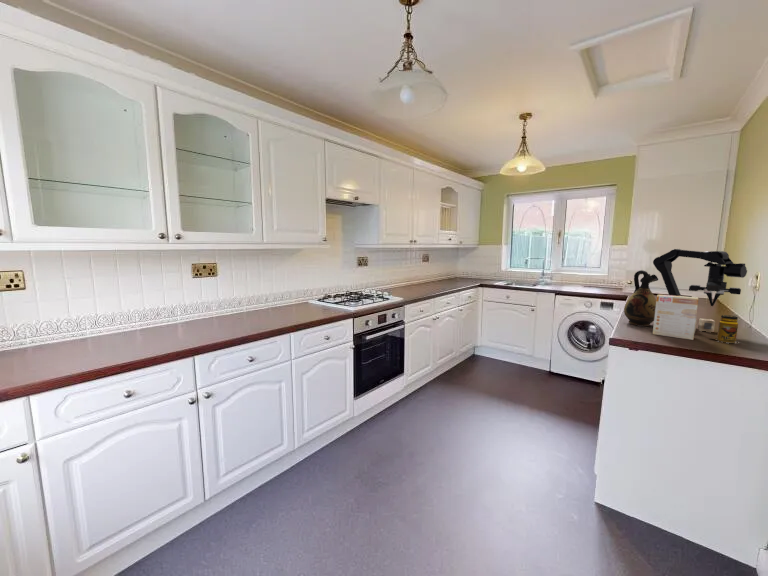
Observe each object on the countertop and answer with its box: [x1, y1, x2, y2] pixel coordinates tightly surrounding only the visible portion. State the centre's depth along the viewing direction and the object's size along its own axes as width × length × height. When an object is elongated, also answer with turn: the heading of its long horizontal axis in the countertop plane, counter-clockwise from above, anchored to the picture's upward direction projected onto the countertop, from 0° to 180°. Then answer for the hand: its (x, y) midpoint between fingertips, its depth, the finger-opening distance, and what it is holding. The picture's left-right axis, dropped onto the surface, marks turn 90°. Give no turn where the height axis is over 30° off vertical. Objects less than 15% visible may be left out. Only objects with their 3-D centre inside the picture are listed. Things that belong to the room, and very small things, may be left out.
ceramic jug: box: [623, 269, 659, 327], centre depth 186 cm, size 17×15×30 cm
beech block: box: [697, 318, 716, 333], centre depth 173 cm, size 5×5×6 cm
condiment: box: [716, 314, 741, 344], centre depth 153 cm, size 7×8×12 cm
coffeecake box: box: [652, 294, 699, 341], centre depth 161 cm, size 15×7×20 cm, turn 47°
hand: (711, 306), depth 172 cm, fingers closed
